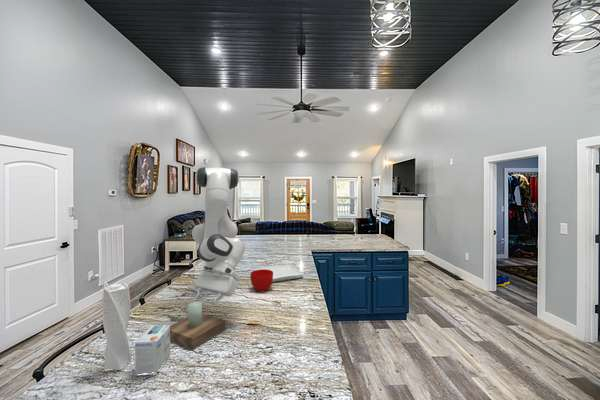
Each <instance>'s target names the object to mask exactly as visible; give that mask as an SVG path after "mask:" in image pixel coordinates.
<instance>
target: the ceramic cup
mask: <svg viewBox="0 0 600 400" xmlns="http://www.w3.org/2000/svg"><path fill="white" fill-rule="evenodd" d="M249 276H250V283H251V285H252V287H253V288H254V290H255V291H256V292H260V293H263V292H267V291H268V290H269V289H270V288H271V286H272V284H273V282H272V281H273V271H271V270H265V269H262V270H253V271H251V272H250V275H249Z"/></svg>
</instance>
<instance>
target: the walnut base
mask: <svg viewBox="0 0 600 400" xmlns="http://www.w3.org/2000/svg"><path fill="white" fill-rule="evenodd" d="M169 325H170V342H172V343H174V342H175V344H177V343H178V344H177V345H179V344H180V346H182V345H183V346H182V347H184V346H185V348H187V347H188V348H187V349H189V348H190V350H192V349H194V350H195V349H197V348H199V347H200V346H201V344H202V345H204V344H205V343H207V342H208V341H210V340H212V339H213V338H214V337H217V336H218V335H219V334H221V333H223V332H225V331H226V320H225V319H222V318H219V317H215V316H212V315H209V314H205V313H202V324H201V325H200V326H198V327H189V317H188V316H187V317H185V318H183V319H180V320H178V321H177V322H175V323H172V324H169ZM206 341H207V342H206ZM198 346H199V347H198ZM196 347H197V348H196Z"/></svg>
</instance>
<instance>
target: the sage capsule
mask: <svg viewBox="0 0 600 400" xmlns="http://www.w3.org/2000/svg"><path fill="white" fill-rule="evenodd" d="M187 305H188V306H187V307H188V308H187V310H188V316H187V317H189V327H198V326H200V325H201V324H202V314H203V303H202V301H192V302H189V303H188V304H187Z"/></svg>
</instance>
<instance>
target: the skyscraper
mask: <svg viewBox="0 0 600 400" xmlns="http://www.w3.org/2000/svg"><path fill="white" fill-rule="evenodd" d="M102 286H103V289H102V290H103V292H102V305H101V311H102V313H101V314H102V315H101V316H102V326H103V331H104V335H105V338H106V343H105V344H106V346H105V351H104V352H105V353H104V354H105V355H104V363H103V364H104V366H103V371H104V370H105V369H118V370H119V369H120V370H121V369H122V368H123V367H124V366H125V365H126V364H127V363H128V362H129V363H130V361H131V362H132V357H131V349H130V344H129V339H128V334H127V330H128V327H129V321H130V315H131V297H130V289H129V287H130V286H129V285H128V284H127V283H126V282H124V281H123V282H122V284H120V283H115V284H112V285H110V287H109V284H108V283H107V281H106V280H103V282H102Z"/></svg>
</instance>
